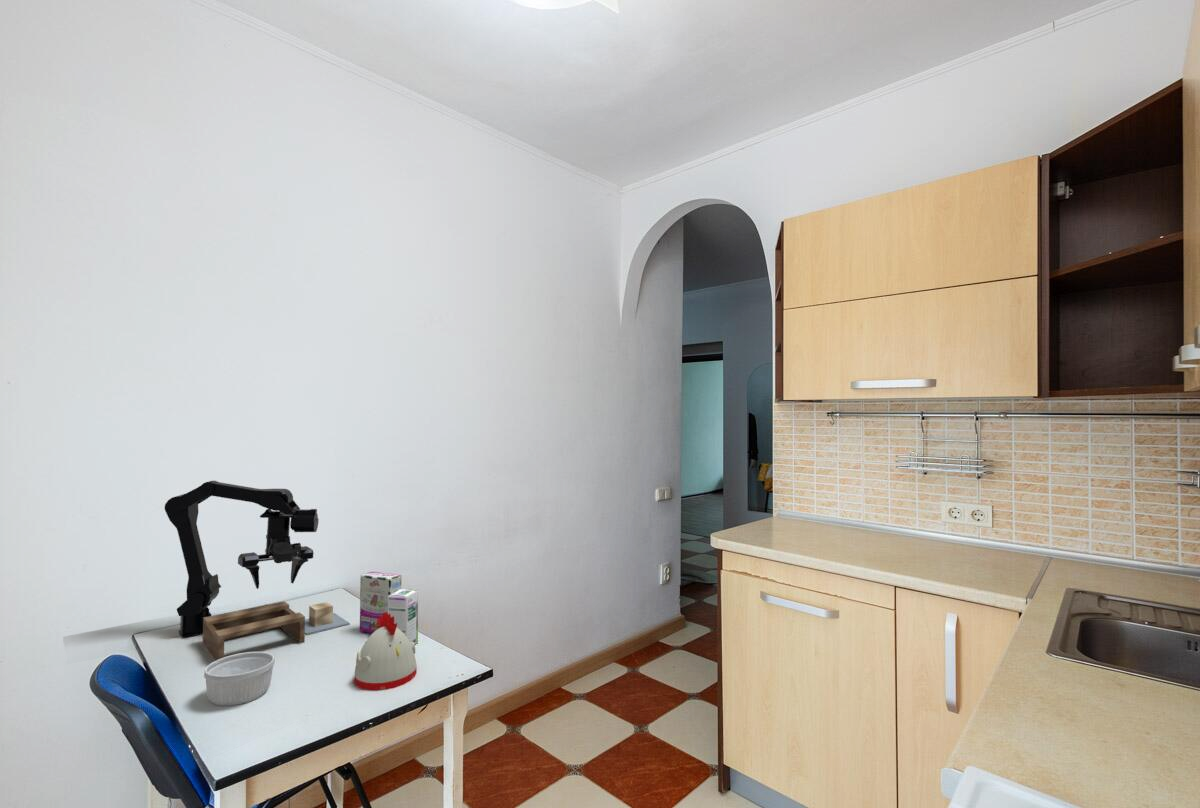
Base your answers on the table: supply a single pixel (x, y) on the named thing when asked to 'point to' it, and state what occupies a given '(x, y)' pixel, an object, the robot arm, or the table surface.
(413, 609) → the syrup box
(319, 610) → the maple block
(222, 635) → the wooden rack
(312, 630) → the pad
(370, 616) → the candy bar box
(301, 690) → the table surface
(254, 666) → the ramekin
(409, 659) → the kitchen timer
